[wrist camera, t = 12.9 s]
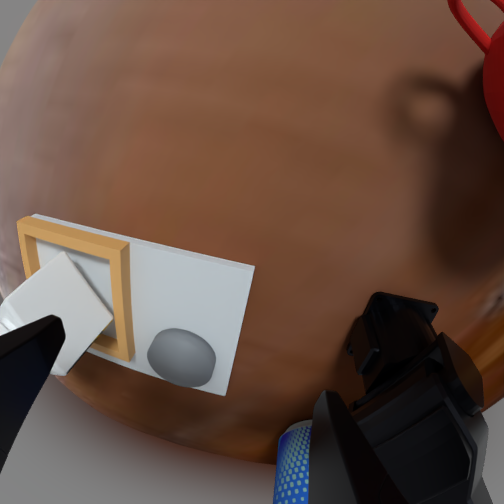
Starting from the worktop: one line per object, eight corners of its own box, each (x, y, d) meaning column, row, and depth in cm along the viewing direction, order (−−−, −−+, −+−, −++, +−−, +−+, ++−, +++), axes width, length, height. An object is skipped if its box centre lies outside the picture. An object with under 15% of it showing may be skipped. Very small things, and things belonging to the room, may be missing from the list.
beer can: (293, 450, 33) (286, 553, 19) (268, 423, 30) (252, 547, 16) (353, 438, 30) (359, 546, 16) (337, 408, 28) (343, 543, 13)
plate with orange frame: (255, 266, 21) (251, 283, 19) (226, 390, 28) (222, 408, 26) (32, 212, 22) (15, 221, 20) (55, 331, 28) (44, 343, 26)
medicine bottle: (84, 327, 26) (15, 408, 16) (43, 270, 23) (-38, 346, 14) (116, 317, 22) (29, 423, 12) (65, 248, 20) (-41, 343, 10)
